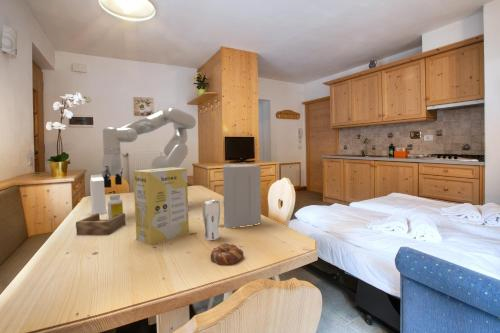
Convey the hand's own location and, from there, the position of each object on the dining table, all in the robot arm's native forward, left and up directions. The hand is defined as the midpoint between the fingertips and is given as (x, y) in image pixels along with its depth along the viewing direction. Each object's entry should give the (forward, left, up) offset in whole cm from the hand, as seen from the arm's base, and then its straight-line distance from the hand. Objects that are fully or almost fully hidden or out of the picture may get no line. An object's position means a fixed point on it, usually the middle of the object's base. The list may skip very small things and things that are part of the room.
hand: (113, 185), depth 129 cm
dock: (-2, +15, -18) cm, 23 cm away
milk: (+17, -13, -18) cm, 28 cm away
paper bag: (-63, +7, -18) cm, 66 cm away
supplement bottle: (0, 0, -18) cm, 18 cm away
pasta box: (-33, +23, -18) cm, 44 cm away
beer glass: (-54, +26, -18) cm, 63 cm away
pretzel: (-62, +44, -18) cm, 78 cm away
